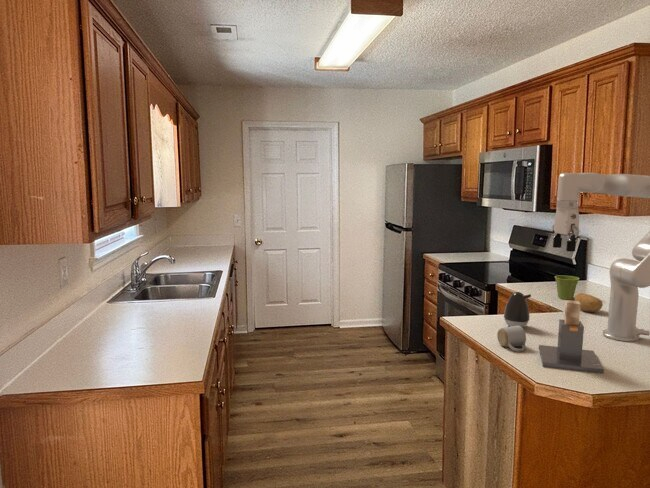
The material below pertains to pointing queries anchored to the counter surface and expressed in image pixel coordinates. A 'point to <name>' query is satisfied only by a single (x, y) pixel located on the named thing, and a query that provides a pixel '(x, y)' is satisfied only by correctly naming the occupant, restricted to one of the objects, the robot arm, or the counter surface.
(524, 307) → the pump dispenser
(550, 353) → the stand
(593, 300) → the potato
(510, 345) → the ceramic mug
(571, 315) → the post
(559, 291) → the plant pot
